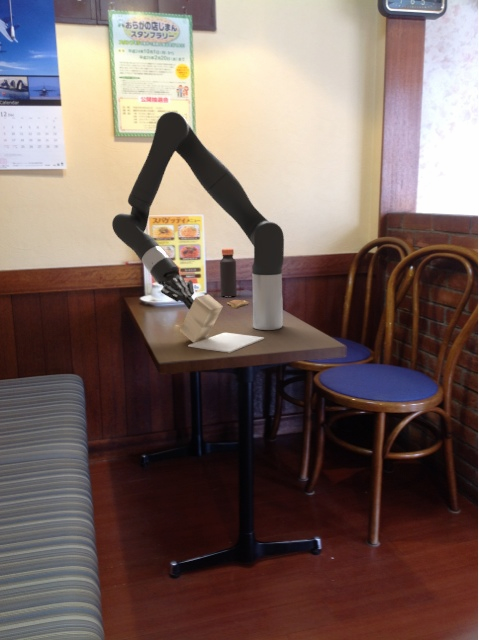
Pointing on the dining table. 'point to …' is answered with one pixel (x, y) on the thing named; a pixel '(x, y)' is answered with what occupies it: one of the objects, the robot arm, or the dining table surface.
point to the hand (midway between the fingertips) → (194, 308)
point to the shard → (237, 303)
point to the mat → (226, 342)
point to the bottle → (228, 273)
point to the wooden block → (201, 318)
